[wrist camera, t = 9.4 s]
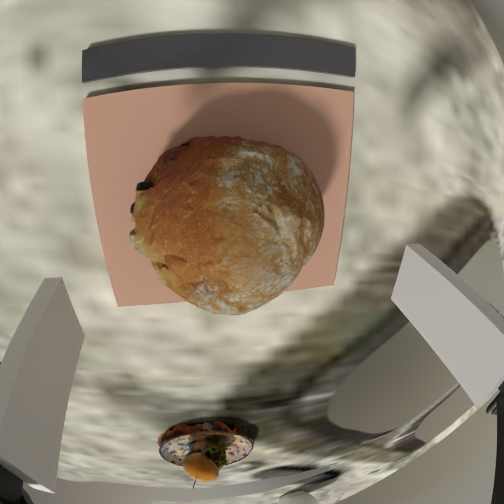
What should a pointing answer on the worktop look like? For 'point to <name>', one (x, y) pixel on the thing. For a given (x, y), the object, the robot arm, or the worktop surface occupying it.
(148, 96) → the mat
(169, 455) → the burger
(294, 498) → the lidded jar
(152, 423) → the worktop surface
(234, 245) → the bread roll
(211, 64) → the bar
